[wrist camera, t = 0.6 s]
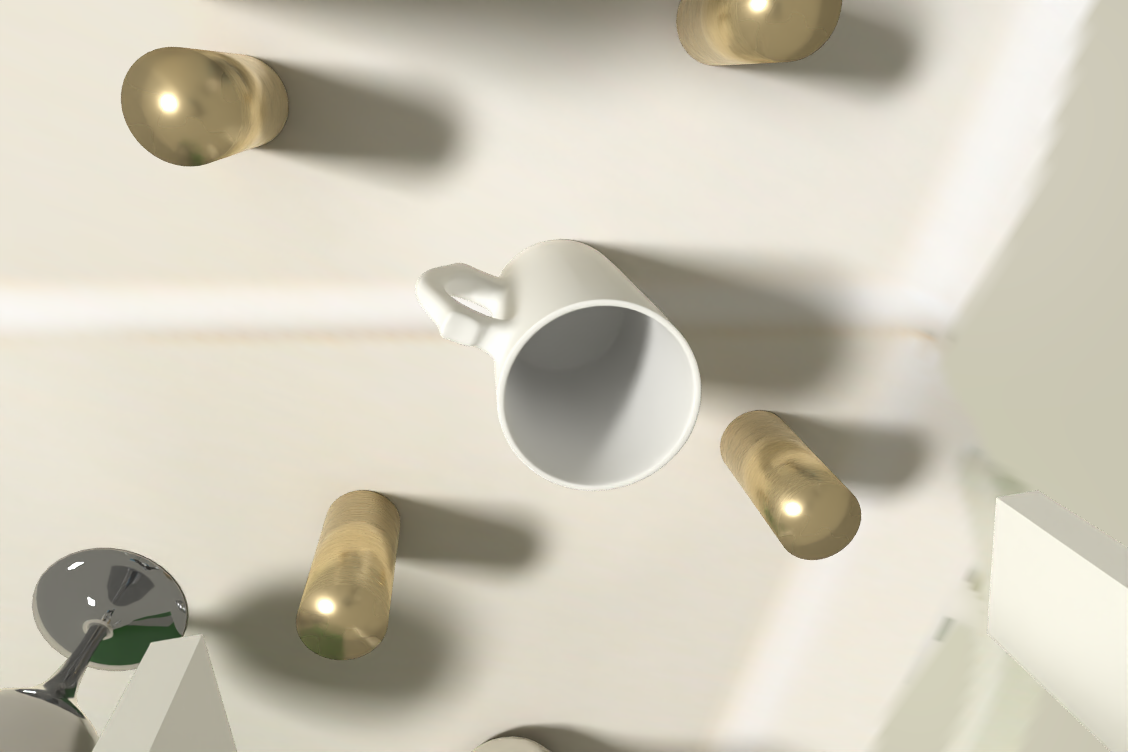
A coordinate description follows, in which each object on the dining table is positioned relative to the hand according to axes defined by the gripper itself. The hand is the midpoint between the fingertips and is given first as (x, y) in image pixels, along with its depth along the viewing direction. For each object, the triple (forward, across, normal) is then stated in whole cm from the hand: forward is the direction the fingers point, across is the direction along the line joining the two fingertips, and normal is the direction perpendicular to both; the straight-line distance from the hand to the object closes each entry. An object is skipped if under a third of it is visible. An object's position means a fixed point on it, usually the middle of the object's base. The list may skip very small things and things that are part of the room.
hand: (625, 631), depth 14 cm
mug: (+26, +1, 0) cm, 26 cm away
